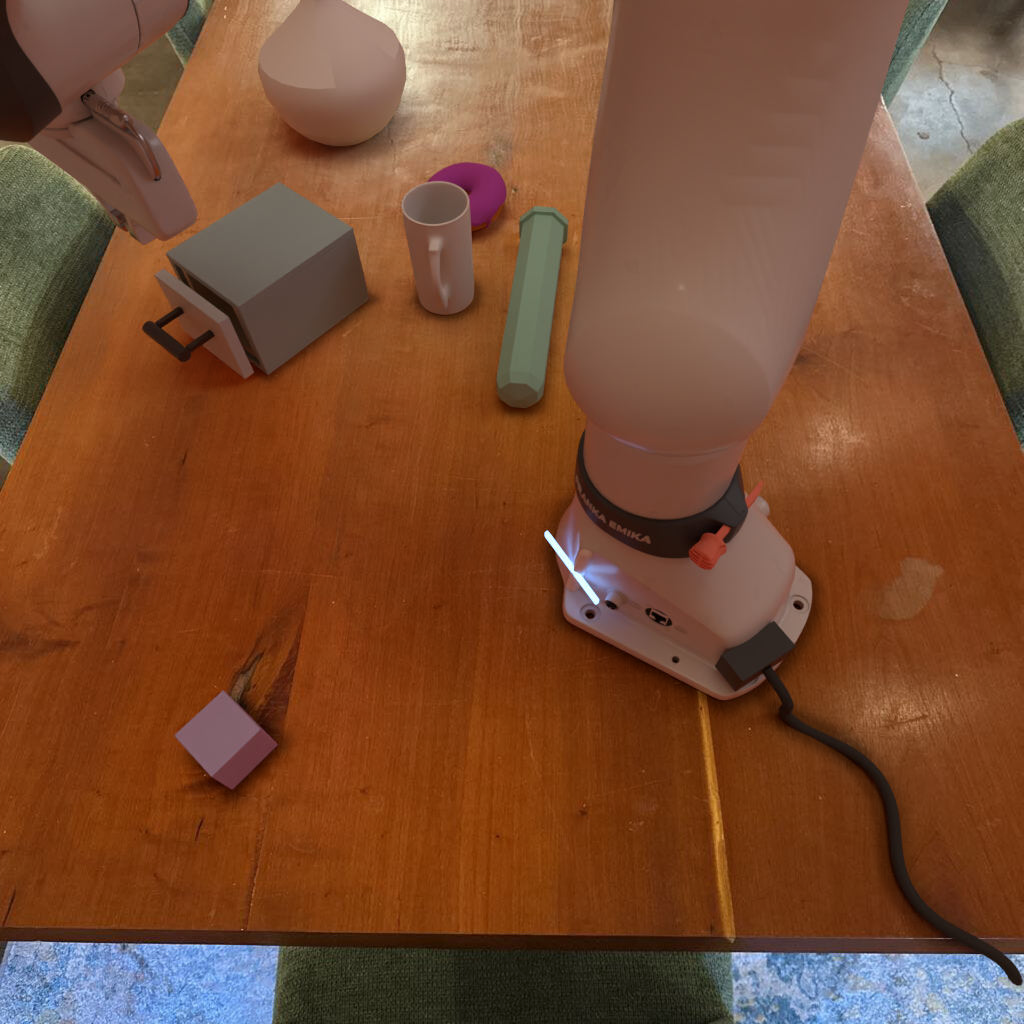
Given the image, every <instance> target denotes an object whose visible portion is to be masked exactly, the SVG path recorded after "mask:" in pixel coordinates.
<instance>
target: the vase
mask: <svg viewBox="0 0 1024 1024" xmlns="http://www.w3.org/2000/svg"><path fill="white" fill-rule="evenodd" d="M257 64H258V65H257V73H258V76H259V80H260V82H261V85H262V88H263V91H264V94H265V97H266V99H267V101H268V102H269V103H270V104H271V106H272V107H273V109H274V110H275V111H276V112H277V113H278V115H279V116H280V117H281V118H282V120H283V121H284V122H285V123H286V124H287V125H288V126H289V127H291V129H293V130H294V131H296V132H297V133H299V135H301V136H303V137H305V138H307V139H308V140H310V141H313V142H316V143H318V144H322V145H326V146H330V147H350V146H354V145H359V144H361V143H364V142H366V141H369V140H370V139H372V138H373V137H375V136H377V135H378V134H379V133H381V131H383V130H384V129H385V127H386V126H388V124H389V123H390V122H391V120H392V119H393V117H394V115H395V114H396V113H397V111H398V108H399V106H400V104H401V102H402V98H403V97H402V96H403V93H404V91H405V90H404V89H405V87H406V82H407V63H406V54H405V50H404V48H403V46H402V44H401V42H400V40H399V38H398V36H397V34H396V32H395V31H394V30H393V28H391V27H390V26H389V25H388V24H386V23H385V22H383V21H381V20H379V19H377V18H375V17H373V16H371V15H369V14H367V13H365V12H364V11H362V10H360V9H358V8H356V7H354V6H353V5H351V4H350V3H347V2H346V1H344V0H299V3H298V4H297V5H296V6H295V8H293V10H292V11H291V12H290V13H289V14H288V16H287V17H286V18H285V19H284V20H283V22H281V24H279V26H278V27H277V28H276V29H275V30H274V31H273V32H272V33H271V34H270V35H269V36H268V37H267V38H266V39H265V41H264V42H263V44H262V46H261V47H260V49H259V55H258V62H257Z"/></svg>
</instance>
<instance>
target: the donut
mask: <svg viewBox="0 0 1024 1024" xmlns="http://www.w3.org/2000/svg"><path fill="white" fill-rule="evenodd" d="M432 181H443V182H449V183H452V184H455V185H457V186H459V187H461V188H462V189H463V190H464V191H465V192H466V193H467V195H468V197H469V204H470V215H471V233H472V232H475V231H479V230H482V229H483V228H486V229H489V227H490V225H491V223H494V221H495V220H496V219H498V217H499V216H500V214H501V212H502V209H503V208H504V204H505V202H506V199H507V196H508V195H507V193H508V192H507V191H508V190H507V186H506V183H505V180H504V179H503V176H502V174H500V172H499V171H498V170H497V169H495V168H494V167H493V166H490V165H487V164H483V163H478V162H468V161H467V162H457V163H454V164H453V163H452V164H450V165H448V166H445V167H444V168H442V169H440V170H438V171H437V172H436V173H434V174H433V175H431V177H430V178H428V180H427V181H426V182H432Z"/></svg>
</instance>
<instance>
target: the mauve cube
mask: <svg viewBox="0 0 1024 1024" xmlns="http://www.w3.org/2000/svg"><path fill="white" fill-rule="evenodd" d="M174 737H175V739H176V740H177V741H178V743H180V745H182V747H183V748H184V749H185V750H186V751H187V752H188V753H189V754H190V756H191V757H192V758H193V759H194V760H195V761H196V762H197V763H198V764H199V765H200V767H202V769H203V770H204V771H205V772H206V773H207V774H208V775H209V776H210V777H211V778H212V779H213V780H215V781H217V782H218V783H220V784H221V785H224V786H225V787H227V788H228V789H230V790H231V791H233V790H234V789H235V788H236V787H237V786H238V785H239V784H240V783H241V782H242V781H243V780H244V779H245V778H246V777H247V776H248V775H249V774H250V773H252V771H254V769H255V768H256V767H257V766H258V765H260V763H261V762H263V760H264V759H265V758H266V757H267V756H268V755H269V754H270V753H272V751H274V750H275V748H276V747H278V745H279V744H278V743H277V742H276V741H275V740H274V739H273V738H272V737H271V736H270V735H269V734H268V732H266V730H264V729H263V728H262V726H261V725H259V723H258V722H257V721H256V720H255V719H254V718H253V717H252V716H251V714H249V713H248V712H247V711H246V710H245V709H244V708H243V707H242V706H241V705H240V704H239V703H237V701H236V700H235V699H234V698H232V696H230V695H229V694H228V693H227V692H226V691H225V690H222V691H221V692H219V694H217V695H216V696H215V697H214V698H213V699H212V700H211V701H210V702H209V703H207V705H205V706H204V707H203V708H202V709H201V710H200V711H199V712H198V713H197V714H195V715H194V717H192V718H191V719H190V720H189V721H188V722H187V723H186V724H185V725H184V726H182V727H181V728H180V729H179V730H178V731H177V732H176V733H175V734H174Z"/></svg>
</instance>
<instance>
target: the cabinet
mask: <svg viewBox="0 0 1024 1024" xmlns="http://www.w3.org/2000/svg"><path fill="white" fill-rule="evenodd" d="M165 256H166V257H167V259H168V261H169V263H170V265H171V267H172V270H173V271H174V273H175V275H176V278H177V279H179V280H180V281H181V282H183V283H184V284H185V285H187V286H188V287H189V288H191V287H190V285H189V283H188V281H187V279H186V277H185V275H184V273H183V271H182V270H184V271H185V272H187V273H188V274H189V275H191V276H192V277H193V278H195V279H196V280H197V281H199V282H200V283H201V284H203V285H204V286H205V287H207V288H208V289H210V290H211V291H212V292H214V293H215V294H216V295H218V296H219V297H220V298H222V299H223V300H224V301H226V302H227V303H229V304H230V305H231V306H233V307H234V308H235V309H236V311H237V313H238V315H239V317H240V320H241V322H242V324H243V326H244V329H245V331H246V333H247V335H248V338H249V340H250V342H251V344H252V347H253V349H254V351H255V354H256V356H257V358H256V357H255V356H254V355H252V354H251V353H250V352H248V351H247V350H246V349H244V348H243V349H244V352H245V354H246V356H247V358H248V360H249V362H250V363H251V364H252V365H254V366H256V367H257V368H258V369H259V370H261V371H262V372H263V373H265V374H266V375H267V376H270V374H272V373H273V372H275V371H276V370H277V369H279V368H280V367H281V366H282V365H284V364H285V363H287V362H288V361H289V360H290V359H292V358H293V357H295V356H296V355H297V354H299V353H300V352H301V351H303V350H304V349H306V348H307V347H308V346H310V345H311V344H312V343H314V342H315V341H316V340H317V339H319V338H320V337H321V336H323V335H324V334H325V333H327V332H328V331H330V330H331V329H332V328H334V327H335V326H336V325H337V324H339V323H341V322H342V321H343V320H345V318H347V317H348V316H350V315H351V314H353V312H355V311H356V310H358V309H359V308H360V307H362V306H364V304H366V303H368V301H370V295H369V289H368V285H367V281H366V278H365V272H364V269H363V264H362V259H361V255H360V251H359V248H358V244H357V239H356V236H355V231H354V227H352V226H351V225H349V224H348V223H346V222H345V221H343V220H341V219H340V218H338V217H336V216H335V215H333V214H331V213H330V212H328V211H327V210H326V209H323V207H320V206H319V205H318V204H315V203H314V202H313V201H312V200H309V199H307V197H304V196H302V195H301V194H300V193H298V192H296V191H295V190H293V189H292V188H290V187H288V186H287V185H285V184H284V183H282V182H281V181H278V182H276V183H275V184H273V185H272V186H270V187H268V188H267V189H265V190H264V191H262V192H261V193H259V194H257V195H256V196H253V197H252V198H251V199H249V200H248V201H246V202H244V203H243V204H242V205H240V206H238V207H237V208H234V209H233V210H232V211H230V212H228V213H227V214H225V215H224V216H222V217H220V218H219V219H217V220H216V221H214V222H212V223H211V224H209V225H207V227H205V228H203V229H201V230H200V231H198V232H197V233H195V234H193V235H192V236H191V237H189V238H187V239H185V240H184V241H182V242H181V243H179V244H178V245H176V246H174V247H172V248H171V249H169V250H168V251H166V252H165Z"/></svg>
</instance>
